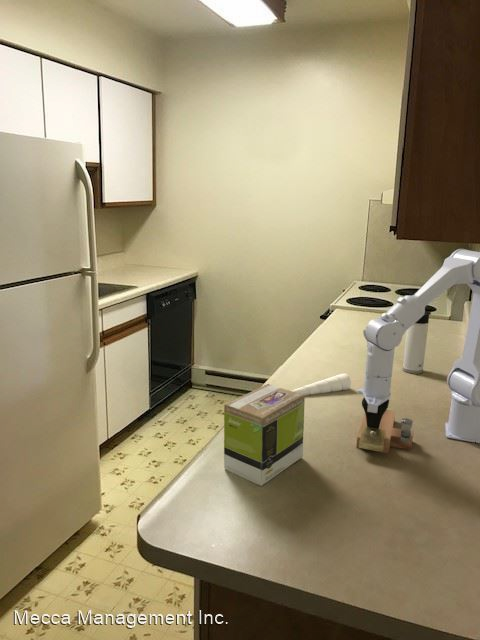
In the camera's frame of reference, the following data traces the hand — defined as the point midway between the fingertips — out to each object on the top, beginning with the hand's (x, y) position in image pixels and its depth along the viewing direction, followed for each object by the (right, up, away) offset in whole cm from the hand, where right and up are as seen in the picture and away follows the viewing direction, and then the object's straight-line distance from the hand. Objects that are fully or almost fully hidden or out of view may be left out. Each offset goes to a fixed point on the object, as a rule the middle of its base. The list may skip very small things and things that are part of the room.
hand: (372, 429), depth 113 cm
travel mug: (+27, +8, +50) cm, 57 cm away
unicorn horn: (-8, +4, +30) cm, 31 cm away
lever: (+6, 0, -3) cm, 7 cm away
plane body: (+5, -2, +5) cm, 7 cm away
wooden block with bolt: (-1, -2, -3) cm, 4 cm away
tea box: (-25, -5, -9) cm, 27 cm away
